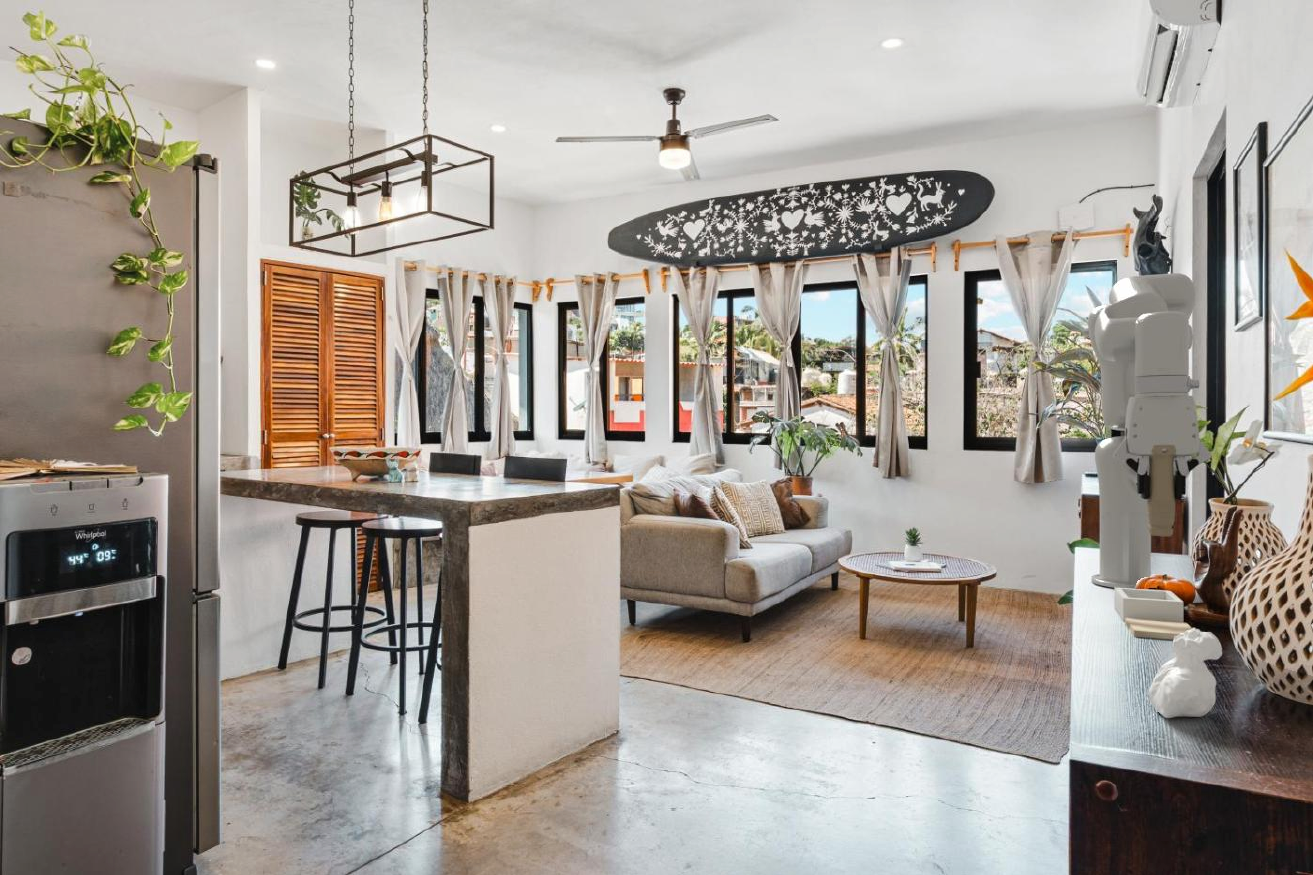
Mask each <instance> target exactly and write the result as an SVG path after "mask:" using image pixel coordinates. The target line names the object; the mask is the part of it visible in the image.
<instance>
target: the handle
mask: <svg viewBox="0 0 1313 875" xmlns="http://www.w3.org/2000/svg"><path fill="white" fill-rule="evenodd" d="M1163 448H1166V449H1167V451H1162V449H1163ZM1151 453H1152V454H1155V456H1149V477H1150V498H1149V499H1148V501H1147V507H1148V508H1147V511H1148V512H1147V514H1148V521H1149V524H1150V525H1151V527H1149V531H1150V534H1151V536H1153V537H1160V538H1161V537H1162V538H1163V537H1164V538H1165V537H1172V536H1173V534H1174V528H1173V527H1172V526H1174V523H1175V519H1176V518H1175V517H1176V499H1175V487H1174V470H1173V463H1174V458H1175V457H1176V456H1172V455H1173V454H1176V448H1175V445H1154V446H1153V449H1152V451H1151Z"/></svg>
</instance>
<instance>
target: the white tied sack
mask: <svg viewBox="0 0 1313 875" xmlns="http://www.w3.org/2000/svg"><path fill="white" fill-rule="evenodd" d="M1171 648H1172V650H1173V653H1174V654H1175V656H1174V658H1172V659H1171V660H1168V661H1166V662H1165V663H1164V664H1162V665H1161V666H1160V668H1159V669H1158V672H1157V673H1156V674H1155V676H1154V678H1153V679H1152V683H1151V685H1150V687H1149V689H1148V693H1147V694H1148V698H1149V700H1150V703H1151V704H1152V706H1153V708H1154V710H1156V711H1157V712H1159V713H1160V715H1161V716H1162V717H1164V718H1166V719H1171V718H1176V717H1190V718H1191V717H1192V718H1195V717H1197V718H1201V717H1203V716H1204V717H1205V715H1207V714H1208V713H1209V712H1210V711H1211V709H1212V708H1213V707H1214V705H1215V703H1216V697H1217V696H1216V686H1217V680H1216V677H1215V676H1214V675H1213V674H1212V673H1211V671H1210V670H1209V669H1208V666H1207V664H1206V663H1205V662H1204V661H1207V660H1215V661H1216V660H1219V659H1221V657H1222V656H1223V648H1222V644H1221V642H1220V640H1219V638H1218V637H1217V636H1216V635H1215V634H1214V633H1212V632H1211V631H1207V632H1205V631H1201V630H1200V629H1199V628H1196V627H1192V629H1191V630H1188V631H1185V633H1180V634H1179V635H1178V636H1175V637H1174V640H1172V647H1171ZM1156 711H1155V712H1156ZM1159 713H1158V714H1159Z"/></svg>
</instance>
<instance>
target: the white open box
mask: <svg viewBox="0 0 1313 875" xmlns="http://www.w3.org/2000/svg"><path fill="white" fill-rule="evenodd" d="M1113 590H1114V597H1113V598H1114V601H1113V602H1114V607H1113V609H1114V611H1115V612H1116V613H1117V615H1118V616H1119V618H1121V620H1122V621H1123V622H1125V618H1132V619H1146V620H1160V621H1174V622H1184V601H1183V600H1182V599H1181V598H1179V597H1178V596H1177V595H1176V594H1175V593H1174V592H1172V590H1165V589H1164V590H1161V589H1131V588H1115V587H1114V588H1113Z"/></svg>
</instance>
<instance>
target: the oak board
mask: <svg viewBox="0 0 1313 875" xmlns="http://www.w3.org/2000/svg"><path fill="white" fill-rule="evenodd" d="M1124 624H1125V626H1126V627H1127V628H1128V630H1129V631H1130V633H1131V634H1132V635H1133V637H1134V638H1144V639H1145V638H1147V639H1149V638H1150V639H1160V640H1172V641H1173V640H1174V637H1175V636H1178V635H1179V634H1180V633H1185V631H1188V630H1191V629H1193V627H1191V626H1190V625H1189V624H1188V623H1187V622H1184V621H1183V622H1174V621H1160V620H1146V619H1132V618H1125V621H1124Z"/></svg>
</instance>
